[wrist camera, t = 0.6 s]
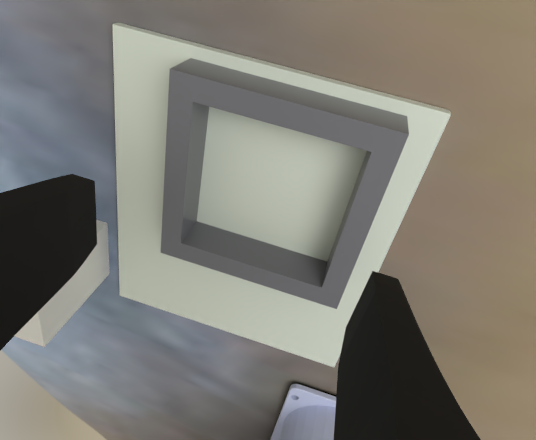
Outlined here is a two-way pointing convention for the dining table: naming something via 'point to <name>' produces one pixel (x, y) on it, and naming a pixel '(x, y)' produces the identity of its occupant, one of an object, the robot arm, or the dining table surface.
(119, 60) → the socket board
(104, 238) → the plug
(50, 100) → the dining table surface
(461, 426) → the robot arm
